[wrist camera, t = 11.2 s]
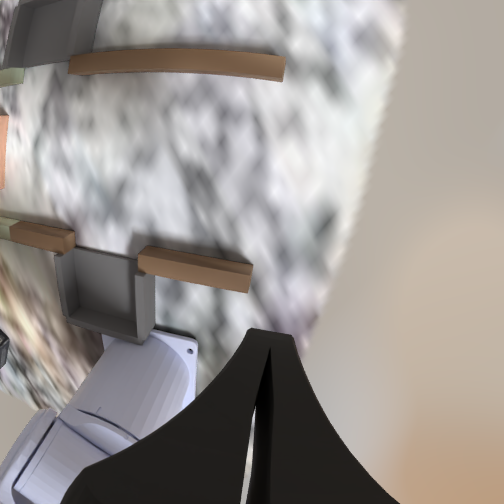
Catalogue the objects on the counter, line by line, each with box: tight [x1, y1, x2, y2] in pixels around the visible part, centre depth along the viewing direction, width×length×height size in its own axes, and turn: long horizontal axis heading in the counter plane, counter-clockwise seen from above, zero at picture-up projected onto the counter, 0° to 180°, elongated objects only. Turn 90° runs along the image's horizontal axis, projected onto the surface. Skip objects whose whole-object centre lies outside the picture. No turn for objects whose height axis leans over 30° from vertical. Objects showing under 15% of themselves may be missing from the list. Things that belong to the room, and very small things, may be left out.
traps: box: [3, 0, 155, 345], centre depth 18 cm, size 25×13×2 cm, turn 172°
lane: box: [0, 48, 286, 293], centre depth 18 cm, size 13×32×2 cm, turn 82°
